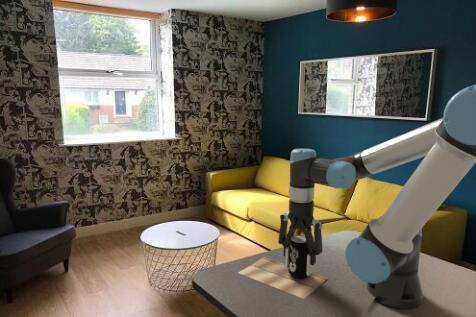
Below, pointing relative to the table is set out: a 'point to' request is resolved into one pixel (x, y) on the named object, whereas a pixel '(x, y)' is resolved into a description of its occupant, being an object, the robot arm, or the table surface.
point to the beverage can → (298, 256)
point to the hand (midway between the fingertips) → (298, 269)
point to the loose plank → (280, 270)
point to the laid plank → (277, 281)
